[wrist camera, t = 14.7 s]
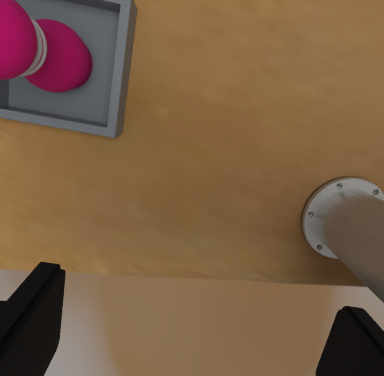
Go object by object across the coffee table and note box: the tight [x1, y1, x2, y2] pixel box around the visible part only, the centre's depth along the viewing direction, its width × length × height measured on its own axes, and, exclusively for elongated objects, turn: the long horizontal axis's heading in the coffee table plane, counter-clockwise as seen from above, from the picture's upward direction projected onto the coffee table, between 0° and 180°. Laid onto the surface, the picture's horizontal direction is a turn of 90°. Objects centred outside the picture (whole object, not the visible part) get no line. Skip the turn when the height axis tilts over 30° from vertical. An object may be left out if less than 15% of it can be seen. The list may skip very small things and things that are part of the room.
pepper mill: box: [0, 0, 93, 93], centre depth 28 cm, size 7×7×20 cm
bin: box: [0, 0, 137, 138], centre depth 36 cm, size 15×15×5 cm
